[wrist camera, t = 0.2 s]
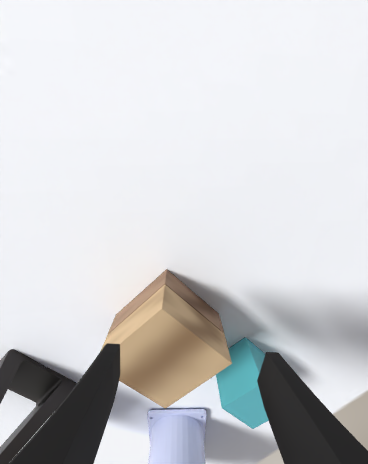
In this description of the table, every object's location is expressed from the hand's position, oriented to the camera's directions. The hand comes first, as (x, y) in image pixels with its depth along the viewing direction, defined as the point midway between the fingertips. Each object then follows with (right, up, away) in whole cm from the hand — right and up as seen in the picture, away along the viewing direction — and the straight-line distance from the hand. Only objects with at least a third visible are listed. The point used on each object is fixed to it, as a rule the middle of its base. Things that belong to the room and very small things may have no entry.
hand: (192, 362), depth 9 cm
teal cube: (+7, -9, +14) cm, 18 cm away
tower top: (-2, -4, +9) cm, 10 cm away
